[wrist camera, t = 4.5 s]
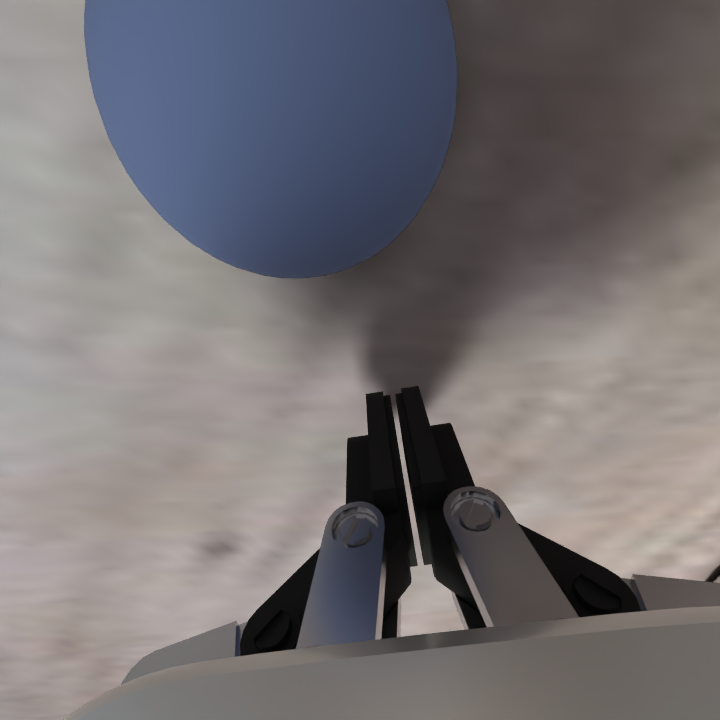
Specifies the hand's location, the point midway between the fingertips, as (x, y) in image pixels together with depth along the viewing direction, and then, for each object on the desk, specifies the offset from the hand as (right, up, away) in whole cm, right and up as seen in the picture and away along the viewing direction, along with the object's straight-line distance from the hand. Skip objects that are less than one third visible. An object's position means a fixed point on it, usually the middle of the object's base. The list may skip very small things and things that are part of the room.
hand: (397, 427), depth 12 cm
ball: (-3, +7, -5) cm, 9 cm away
